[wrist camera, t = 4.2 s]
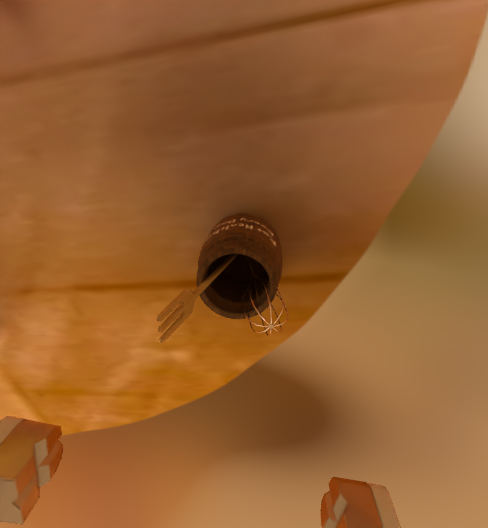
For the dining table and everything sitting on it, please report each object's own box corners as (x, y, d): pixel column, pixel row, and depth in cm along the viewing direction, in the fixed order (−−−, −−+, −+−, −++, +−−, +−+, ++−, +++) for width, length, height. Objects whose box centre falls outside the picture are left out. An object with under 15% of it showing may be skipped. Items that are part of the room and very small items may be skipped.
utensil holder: (278, 280, 27) (287, 386, 16) (205, 277, 27) (163, 378, 16) (282, 212, 24) (296, 279, 13) (202, 210, 25) (151, 274, 14)
